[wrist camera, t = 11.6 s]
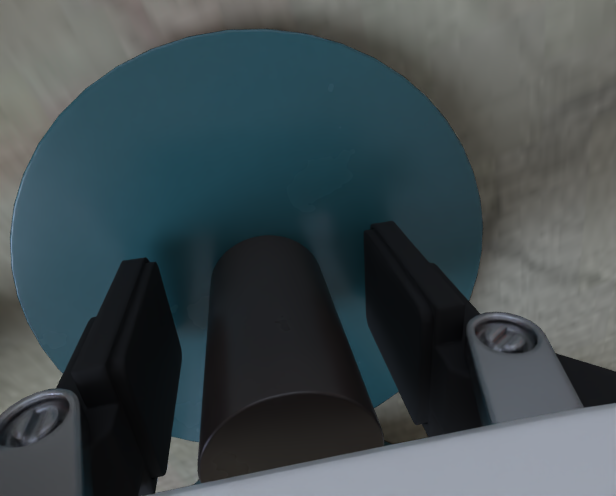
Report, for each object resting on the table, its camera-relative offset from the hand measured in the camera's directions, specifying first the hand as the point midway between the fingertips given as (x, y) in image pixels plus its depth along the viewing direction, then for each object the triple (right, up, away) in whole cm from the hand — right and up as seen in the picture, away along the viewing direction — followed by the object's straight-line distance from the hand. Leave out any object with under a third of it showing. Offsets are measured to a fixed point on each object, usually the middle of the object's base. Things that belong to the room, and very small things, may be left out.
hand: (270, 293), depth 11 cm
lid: (0, 0, +1) cm, 1 cm away
